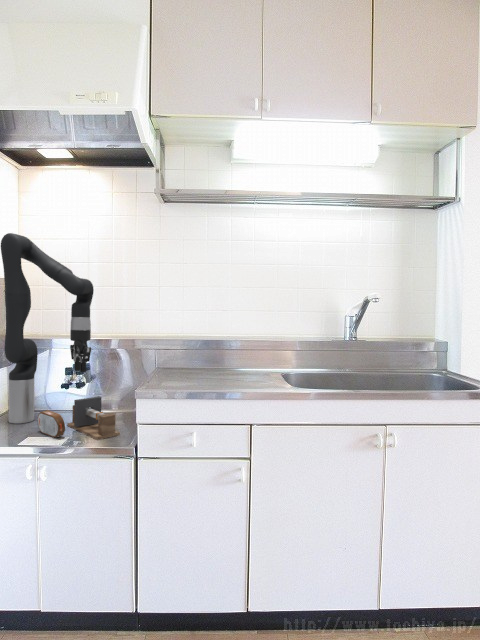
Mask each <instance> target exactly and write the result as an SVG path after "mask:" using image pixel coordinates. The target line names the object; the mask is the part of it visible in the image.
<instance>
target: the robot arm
mask: <svg viewBox="0 0 480 640" xmlns="http://www.w3.org/2000/svg"><path fill="white" fill-rule="evenodd" d="M0 254H1V259H2V267H3V276H4V277H3V279H4V280H3V281H4V306H5V307H4V308H5V335H4V336H5V337H4V350H3V351H4V355H5V358H6V360H7V361H8V362H9V363H11V364H15V366H14V367H13V369H12V370H11V371H9V372H8V373H9V374H8V423H10V424H26V423H31V422H33V421H34V420H35V375H36V372H37V367H38V356H39V355H38V346H37V344H36V342H35V341H34V340H33V339H29V338H25V337H24V329H25V324H26V321H27V319H28V316H29V314H30V311H31V308H32V298H31V297H32V295H31V288H30V285H29V283H28V281H27V278H26V277H25V275H24V271H23V269H22V268H23V267H22V259H23V260H26V261H27V262H30V263H31V264H33V265H36V266H37V267H38V269H40V271H42V273H44V274H45V275H46V276H47V277H48V278H50V279H52V280H53V281H54V282H56V283H57V284H60V285H61V287H63V289H65V290H66V291H67V292H68V293H69V294H71V295H73V296H76V299H75V301H74V302H73V303H72V304H71V308H70V309H71V313H70V317H71V318H70V334H69V335H70V337H69V338H70V341H71V342H73V344H70V345H69V349H70V356H71V360H72V361H73V362H74V366H73V367H74V372H80V373H86V372H87V363H88V362H90V358H91V354H92V347H91V346H88V342H89V341H90V340H91V338H92V337H91V335H92V334H91V332H92V331H91V330H92V328H91V327H92V324H91V306H92V305H91V304H92V301H93V297H94V292H95V291H94V285H93V283H92V281H91V280H89V279H87V278H83V277H82V278H80V277H79V276H76V275H75V274H74V273H73V271H72V270H71V268H68V267H67V266H66V265H64V264H62V263H61V262H59V261H57V260H56V259H54V258H52V257H51V256H49V255H48V254H47V253H46V252H44V251H43V250H42V249H41V248H40V247H38V246H37V245H36V244H35V243H34V242H33V241H32V240H31V239H30V238H28V237H26V236H24V235H21V234H17V233H13V232H10V233H9V232H8V233H6V234H4V235H3V237H2V238H1V241H0Z"/></svg>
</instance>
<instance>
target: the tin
mask: <svg viewBox="0 0 480 640" xmlns="http://www.w3.org/2000/svg"><path fill="white" fill-rule="evenodd" d="M37 427H38V429H39V431H40V432H41V433H42V434H44V435H47V436H49V437H52V438H55V439H56V438H59V437H62V436H64V435H65V431H66V423H65V420H64V417H63V416H62V415H61V414H59V413H58V412H54V411H51V410H48V409H46V410H43V411H40V412H39V413H38V414H37Z"/></svg>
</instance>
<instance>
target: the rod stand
mask: <svg viewBox="0 0 480 640" xmlns="http://www.w3.org/2000/svg"><path fill="white" fill-rule="evenodd" d="M71 415H72V417H71V419H72V422H67V427H69V428H71V429H74V430H75V431H77V432H79V433H82V434H84V435H86V436H88V437H89V438H92V439H94V440H96V441H99V440H103V439H108V438H112V437H116V436H120V435H121V434H120V433H121V432H120V431H118V430H116V414H114V413H104V412H103V411H101V412H99V411H96V410H93V409H91V408H85V415H88V416H91V417H93V418H96V420H98V423H95V424H90V425H85V426H80V427H75V426H74V404H73V405H72V414H71Z"/></svg>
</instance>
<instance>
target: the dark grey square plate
mask: <svg viewBox="0 0 480 640" xmlns="http://www.w3.org/2000/svg"><path fill="white" fill-rule="evenodd" d="M73 405H74V426H75V427H80V426H85V425H90V424H95V423H98V420H96V418H93V417H91V416H88V415H85V408H91V409H93V410H96V411H99V412H102V397H101V396H91V397H86V398H80V399H74V404H73Z"/></svg>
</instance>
